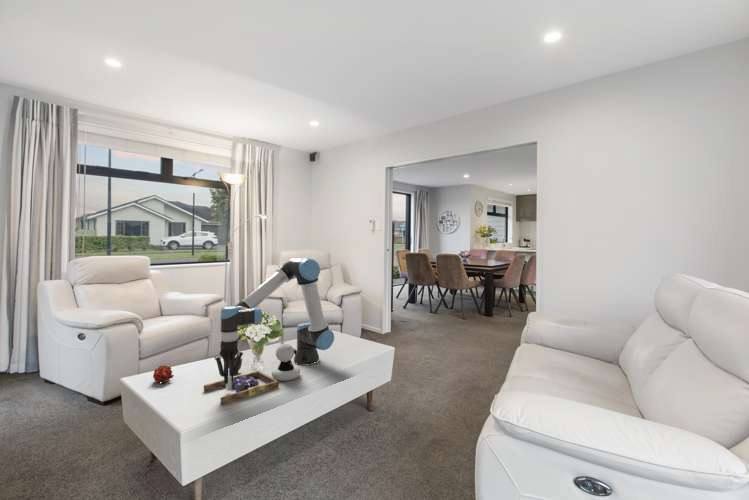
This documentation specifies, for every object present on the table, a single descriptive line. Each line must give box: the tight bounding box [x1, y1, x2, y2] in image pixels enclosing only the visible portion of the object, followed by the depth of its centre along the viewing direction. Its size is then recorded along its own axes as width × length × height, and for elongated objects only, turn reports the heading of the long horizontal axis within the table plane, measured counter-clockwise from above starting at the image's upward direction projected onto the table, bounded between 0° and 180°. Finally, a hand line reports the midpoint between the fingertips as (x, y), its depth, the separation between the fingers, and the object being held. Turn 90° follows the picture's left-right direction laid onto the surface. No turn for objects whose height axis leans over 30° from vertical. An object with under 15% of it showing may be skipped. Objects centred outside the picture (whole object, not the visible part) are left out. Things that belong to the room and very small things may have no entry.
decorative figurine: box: [271, 338, 301, 382], centre depth 187 cm, size 15×15×20 cm
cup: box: [234, 356, 243, 375], centre depth 191 cm, size 8×7×8 cm
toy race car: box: [231, 376, 260, 393], centre depth 172 cm, size 10×15×6 cm, turn 48°
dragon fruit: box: [152, 365, 175, 385], centre depth 178 cm, size 8×8×12 cm
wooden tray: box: [203, 370, 280, 406], centre depth 170 cm, size 28×20×3 cm
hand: (228, 389), depth 165 cm, fingers closed
